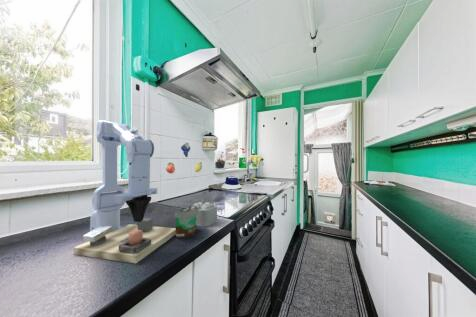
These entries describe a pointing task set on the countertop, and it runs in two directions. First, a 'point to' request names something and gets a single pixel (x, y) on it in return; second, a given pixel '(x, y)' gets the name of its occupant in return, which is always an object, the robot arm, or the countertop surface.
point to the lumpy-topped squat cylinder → (206, 214)
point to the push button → (135, 237)
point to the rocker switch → (97, 233)
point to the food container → (186, 221)
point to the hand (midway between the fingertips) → (138, 221)
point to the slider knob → (145, 224)
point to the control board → (125, 244)
